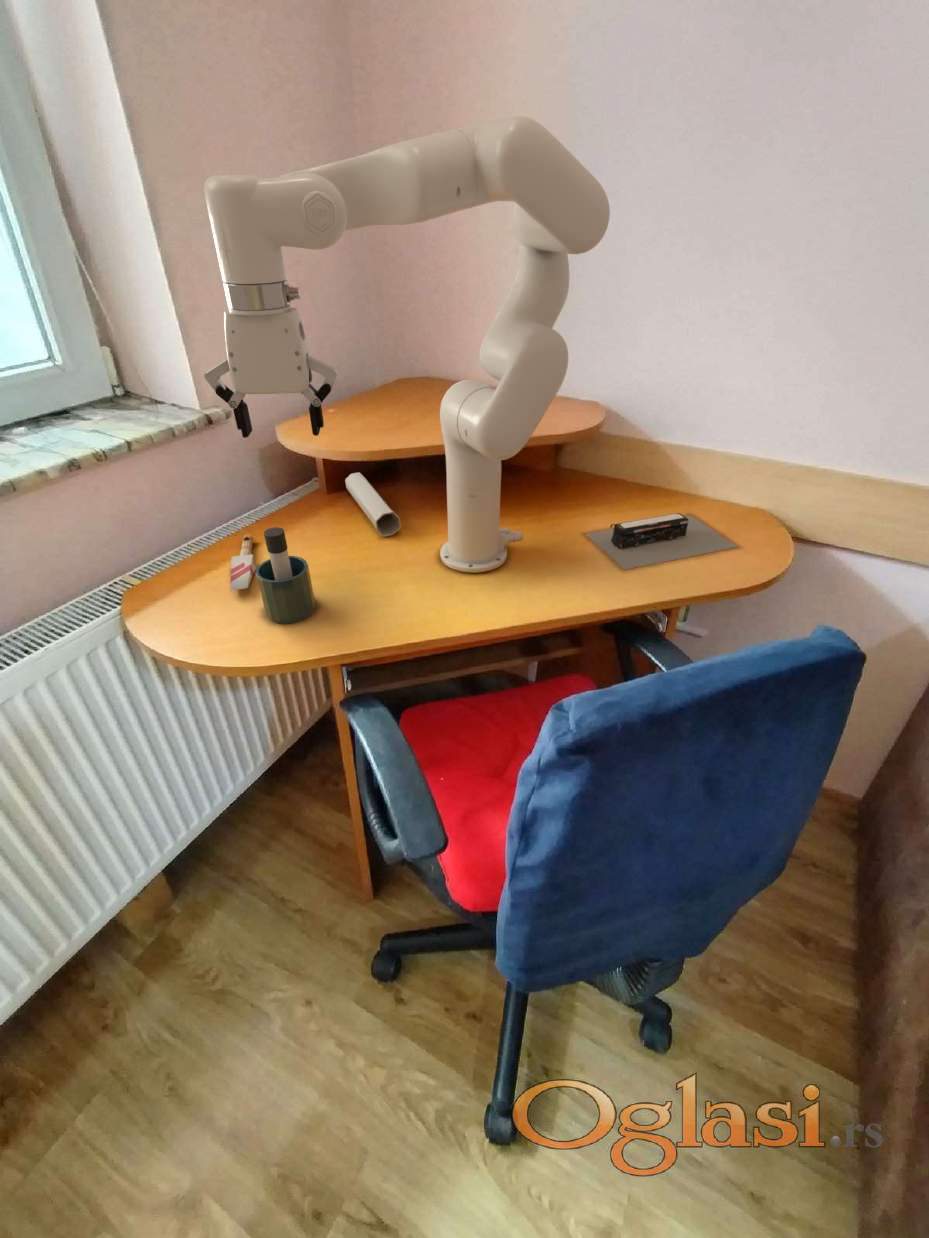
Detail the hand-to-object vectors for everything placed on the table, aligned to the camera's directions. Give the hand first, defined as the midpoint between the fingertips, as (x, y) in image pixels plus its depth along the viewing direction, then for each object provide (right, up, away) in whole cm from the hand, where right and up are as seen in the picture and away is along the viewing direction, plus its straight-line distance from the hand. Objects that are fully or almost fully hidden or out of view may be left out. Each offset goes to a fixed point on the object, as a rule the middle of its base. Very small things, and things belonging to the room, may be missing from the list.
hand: (282, 433), depth 84 cm
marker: (-3, -24, +14) cm, 28 cm away
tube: (+6, -3, +45) cm, 45 cm away
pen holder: (-3, -25, +15) cm, 29 cm away
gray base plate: (+65, -11, +33) cm, 73 cm away
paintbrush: (-15, -17, +26) cm, 34 cm away
